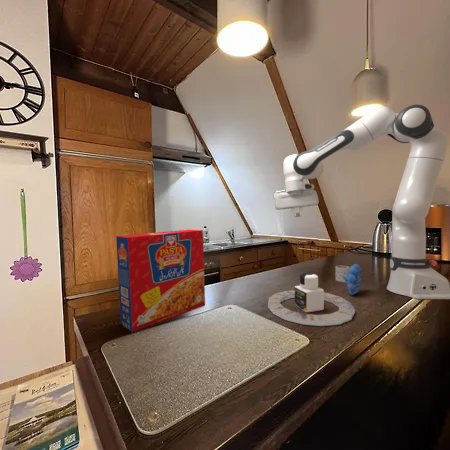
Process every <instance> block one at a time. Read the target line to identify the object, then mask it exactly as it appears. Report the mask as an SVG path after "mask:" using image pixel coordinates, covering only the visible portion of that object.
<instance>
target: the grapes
mask: <svg viewBox="0 0 450 450" xmlns="http://www.w3.org/2000/svg"><path fill="white" fill-rule="evenodd" d="M350 267H351V268H350V269H349V272H350V273H349V274H346V275H345V276H344V277H343V278H344V280H345V281H346V282H347V283H346V287H347V291H348V293H349V294H350V295H352V296H353V295H355V294H357V293H359V291H360V289H359V287H360V286H361V285H362V283H361V281H362V277H363V275H362V274H361V272H362V268H361V267H360V265H359V264H357V263H353V264H352V265H351V266H350Z"/></svg>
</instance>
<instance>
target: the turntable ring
mask: <svg viewBox="0 0 450 450" xmlns="http://www.w3.org/2000/svg"><path fill="white" fill-rule="evenodd" d="M290 299H295V289H294V290H292V289H291V290H285V291H284V290H283V291H280V292H276V293H274V294H272V295H271V296H269V298H268V301H267V308H268V309H269V310H270V311H271V314H273V315H275V316H277V317H279V318H280V319H283V320H285V321H287V322H291V323H292V322H293V323H296V324H300V325H303V326H304V325H305V326H316V327H325V326H326V327H327V326H328V327H329V326H338V325H339V326H340V325H342V324H345V323H347V322H349V321H352V319H353V318H354V315H355V313H356V311H355V307H354V306H353V305H352V303H351V302H350V301H348V300H347V299H345V298H343V297H341V296H338V295H335V294H332V293H329V292H325V291H324V302H328V303H331V304H333V305H334V306H336V307H338V311H334V312H331V313H326V314H325V313H323V314H313V313H309V314H307V313H301V312H298V311H294V310H291V309H289V308H287V307H284V306H283V304H281V303H282V302H284V301H287V300H290Z"/></svg>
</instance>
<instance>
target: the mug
mask: <svg viewBox="0 0 450 450" xmlns="http://www.w3.org/2000/svg"><path fill="white" fill-rule="evenodd" d="M350 268H351V266H349V265H340V264H337V265H335V275H334V276H335V277H334V278H335V281H336V282H339V283H346V284H348V282H346V281H345V280H344V278H343V277H344V276H345V275H346V274H349V273H350V272H349V269H350Z"/></svg>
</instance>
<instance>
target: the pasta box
mask: <svg viewBox="0 0 450 450" xmlns="http://www.w3.org/2000/svg"><path fill="white" fill-rule="evenodd" d="M115 238H116V256H117V274H118V275H117V276H118V278H117V279H118V295H119V296H118V297H119V313H120V315H119V316H120V325H121V324H122V325H123V326H125V327H126V328H128V329H129V330H130V331H132V332H133V331H135V330H138V329H141V328H144V327H146V326H149V325H152V324H155V323H158V322H160V323H162V322H161V321H163V322H165V321H164V320H166V321H168V320H171V319H173V318H176V317H178V316H181V315H184V314H186V313H189V312H191V311H194V310H196V309H199V308H202V307H204V306H206V292H205V289H206V288H205V285H206V284H205V258H204V257H205V256H204V230H202V229H182V230H181V229H180V230H170V231H160V232H159V231H158V232H148V233H147V232H146V233H136V234H124V235H116V236H115ZM170 318H171V319H170ZM167 319H168V320H167ZM158 324H159V323H158ZM122 325H121V326H122ZM155 325H156V324H155ZM123 326H122V327H123ZM152 326H153V325H152ZM125 327H124V328H125ZM126 328H125V329H126ZM129 330H128V331H129ZM130 331H129V332H130ZM132 332H131V333H132Z"/></svg>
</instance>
